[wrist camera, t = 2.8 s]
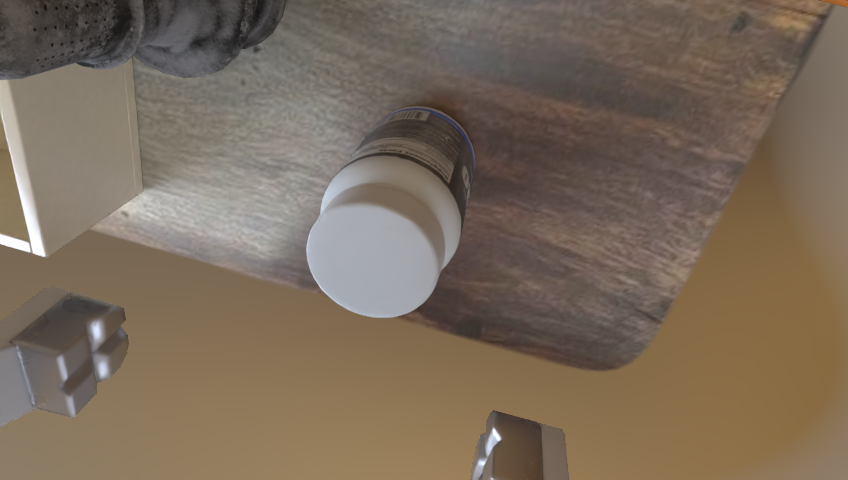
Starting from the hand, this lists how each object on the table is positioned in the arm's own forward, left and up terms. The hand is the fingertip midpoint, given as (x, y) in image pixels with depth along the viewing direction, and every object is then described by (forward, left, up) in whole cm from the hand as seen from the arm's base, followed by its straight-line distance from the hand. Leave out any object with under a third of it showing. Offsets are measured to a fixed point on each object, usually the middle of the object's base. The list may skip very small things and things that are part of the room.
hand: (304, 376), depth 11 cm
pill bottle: (0, 0, -13) cm, 13 cm away
